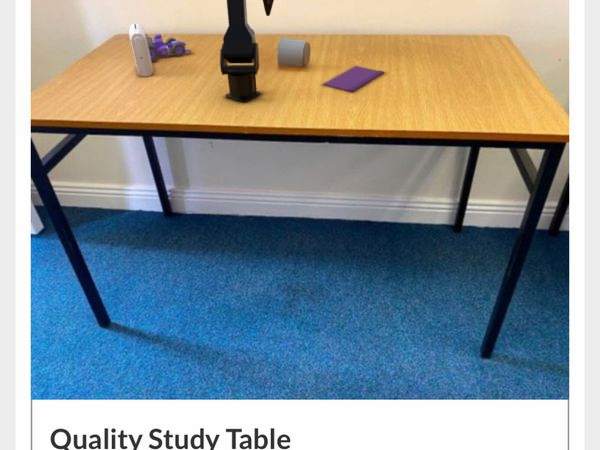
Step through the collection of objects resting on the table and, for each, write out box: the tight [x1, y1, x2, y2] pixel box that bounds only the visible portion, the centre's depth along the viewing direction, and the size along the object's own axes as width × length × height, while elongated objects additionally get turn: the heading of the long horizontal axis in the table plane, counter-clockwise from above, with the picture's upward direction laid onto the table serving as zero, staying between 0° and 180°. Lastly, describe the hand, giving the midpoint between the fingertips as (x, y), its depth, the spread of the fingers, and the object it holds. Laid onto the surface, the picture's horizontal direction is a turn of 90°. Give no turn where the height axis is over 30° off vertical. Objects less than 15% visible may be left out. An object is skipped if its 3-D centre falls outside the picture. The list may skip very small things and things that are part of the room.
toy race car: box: [145, 33, 192, 64], centre depth 143 cm, size 10×15×6 cm, turn 120°
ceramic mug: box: [276, 36, 311, 69], centre depth 133 cm, size 11×8×8 cm
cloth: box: [322, 65, 385, 94], centre depth 126 cm, size 16×9×1 cm, turn 142°
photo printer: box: [128, 23, 154, 77], centre depth 131 cm, size 10×4×12 cm, turn 17°
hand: (255, 13), depth 135 cm, fingers open, 9 cm apart
